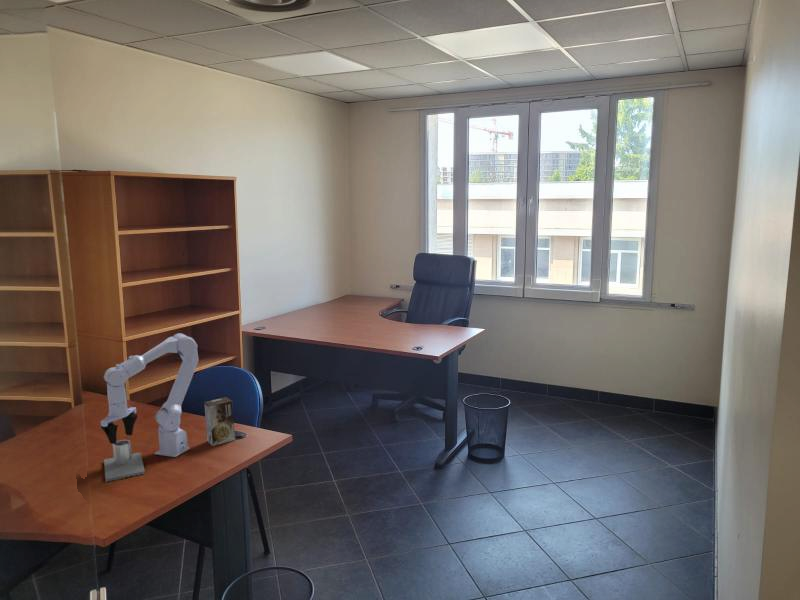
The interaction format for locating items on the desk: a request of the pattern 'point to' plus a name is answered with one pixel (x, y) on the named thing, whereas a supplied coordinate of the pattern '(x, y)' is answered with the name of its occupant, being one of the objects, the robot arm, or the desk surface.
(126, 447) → the collar
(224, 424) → the coffee box
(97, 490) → the desk surface
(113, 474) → the duct board
